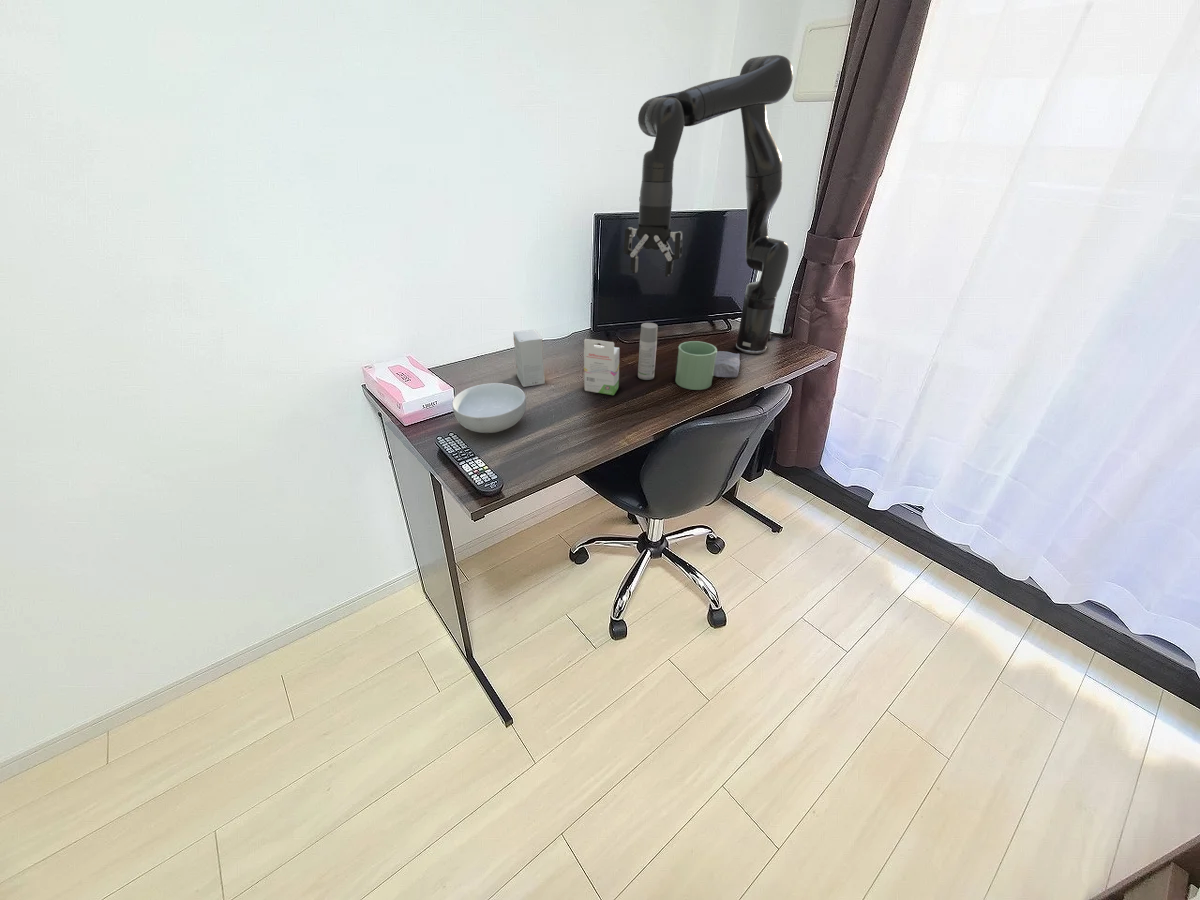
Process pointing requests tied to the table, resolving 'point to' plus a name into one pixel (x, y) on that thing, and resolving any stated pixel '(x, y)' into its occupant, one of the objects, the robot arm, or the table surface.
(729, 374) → the stone block
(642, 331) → the container
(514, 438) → the table surface
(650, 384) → the table surface
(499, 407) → the cereal bowl
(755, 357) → the table surface
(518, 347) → the small box
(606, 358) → the ink box
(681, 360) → the pen cup
